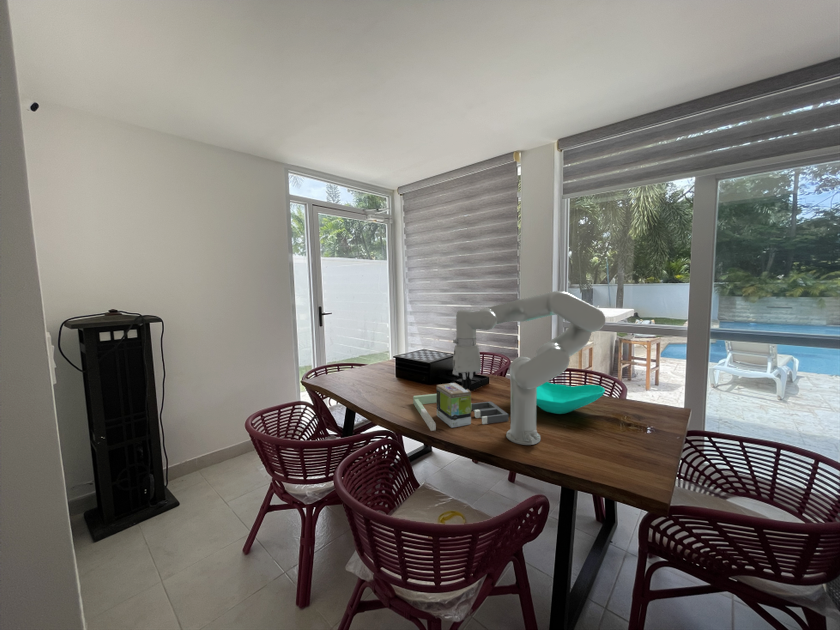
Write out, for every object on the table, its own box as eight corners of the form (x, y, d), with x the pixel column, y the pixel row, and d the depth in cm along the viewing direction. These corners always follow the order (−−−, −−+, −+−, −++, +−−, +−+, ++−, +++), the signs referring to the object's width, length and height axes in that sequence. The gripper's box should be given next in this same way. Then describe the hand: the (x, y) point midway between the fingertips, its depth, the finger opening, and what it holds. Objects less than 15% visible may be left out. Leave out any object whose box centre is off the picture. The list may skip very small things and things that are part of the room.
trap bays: (508, 421, 145) (508, 414, 145) (487, 423, 143) (487, 416, 143) (491, 407, 162) (491, 401, 161) (471, 409, 159) (471, 403, 159)
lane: (487, 423, 143) (487, 414, 142) (431, 430, 137) (430, 421, 136) (459, 398, 175) (459, 391, 174) (413, 403, 169) (413, 396, 168)
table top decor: (607, 409, 156) (607, 381, 155) (601, 431, 133) (602, 399, 132) (522, 395, 178) (522, 371, 177) (504, 412, 155) (504, 384, 154)
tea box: (472, 424, 142) (471, 390, 141) (450, 428, 139) (450, 394, 137) (455, 412, 156) (455, 381, 155) (436, 415, 153) (435, 384, 151)
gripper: (450, 344, 123) (451, 393, 125) (488, 342, 127) (488, 389, 129) (444, 341, 131) (445, 387, 132) (480, 339, 134) (480, 384, 136)
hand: (466, 388), depth 130 cm, fingers closed
